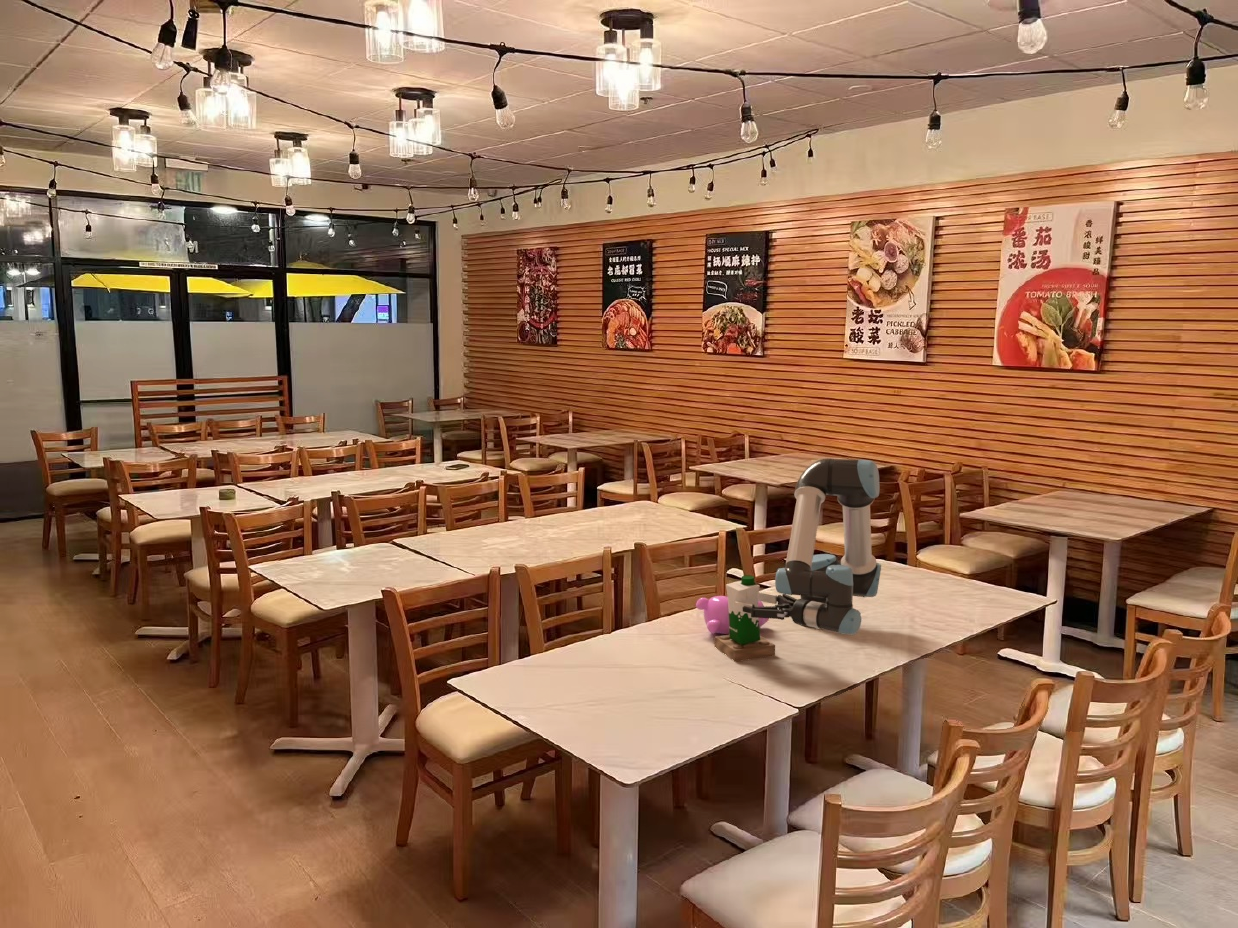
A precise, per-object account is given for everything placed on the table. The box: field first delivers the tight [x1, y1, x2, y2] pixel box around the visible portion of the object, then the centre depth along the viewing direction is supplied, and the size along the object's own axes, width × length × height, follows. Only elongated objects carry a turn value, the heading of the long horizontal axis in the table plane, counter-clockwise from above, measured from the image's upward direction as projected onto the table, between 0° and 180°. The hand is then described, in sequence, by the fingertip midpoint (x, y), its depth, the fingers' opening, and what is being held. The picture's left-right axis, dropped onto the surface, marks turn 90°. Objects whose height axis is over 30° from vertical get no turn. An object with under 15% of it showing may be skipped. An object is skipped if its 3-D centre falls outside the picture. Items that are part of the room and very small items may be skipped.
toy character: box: [695, 595, 770, 635], centre depth 304 cm, size 16×13×25 cm
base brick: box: [714, 634, 776, 662], centre depth 285 cm, size 14×14×4 cm
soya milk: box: [725, 574, 761, 645], centre depth 282 cm, size 9×9×20 cm
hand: (746, 601), depth 282 cm, fingers open, 13 cm apart
